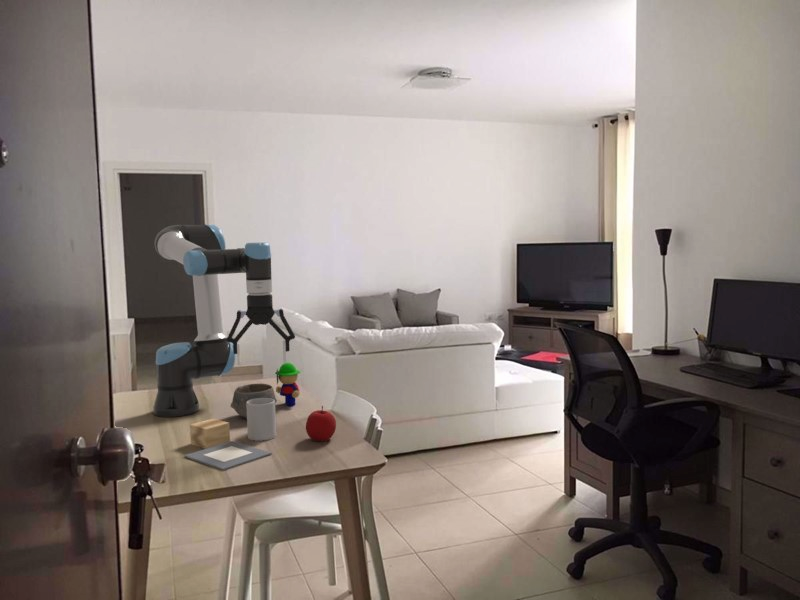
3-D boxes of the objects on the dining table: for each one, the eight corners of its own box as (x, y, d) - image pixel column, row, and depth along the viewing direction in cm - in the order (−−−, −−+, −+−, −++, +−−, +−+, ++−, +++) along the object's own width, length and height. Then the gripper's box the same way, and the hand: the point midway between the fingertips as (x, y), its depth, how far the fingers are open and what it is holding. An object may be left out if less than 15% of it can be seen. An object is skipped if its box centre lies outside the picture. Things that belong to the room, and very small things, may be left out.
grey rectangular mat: (184, 456, 192) (184, 454, 192) (232, 442, 204) (231, 440, 204) (223, 470, 180) (223, 468, 180) (271, 454, 192) (271, 452, 192)
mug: (278, 439, 207) (277, 403, 206) (249, 442, 204) (248, 406, 203) (271, 428, 218) (270, 394, 217) (244, 431, 215) (242, 396, 214)
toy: (276, 400, 253) (275, 360, 251) (302, 399, 254) (301, 359, 252) (273, 408, 242) (272, 366, 240) (300, 407, 243) (299, 365, 241)
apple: (302, 437, 208) (301, 404, 207) (331, 433, 211) (330, 401, 210) (310, 446, 200) (309, 412, 198) (340, 441, 203) (339, 408, 202)
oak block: (190, 444, 204) (189, 424, 203) (213, 437, 210) (213, 418, 209) (206, 449, 199) (205, 429, 198) (230, 442, 205) (229, 422, 204)
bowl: (260, 408, 242) (259, 380, 241) (286, 416, 231) (285, 387, 230) (224, 417, 232) (223, 387, 231) (249, 425, 221) (248, 395, 220)
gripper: (215, 296, 202) (219, 367, 205) (301, 293, 207) (304, 363, 209) (217, 294, 210) (220, 363, 212) (300, 291, 214) (303, 358, 216)
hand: (262, 363), depth 211 cm, fingers open, 13 cm apart
